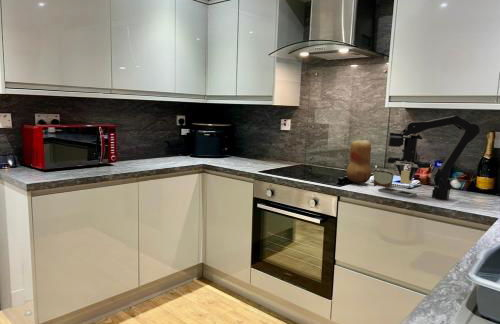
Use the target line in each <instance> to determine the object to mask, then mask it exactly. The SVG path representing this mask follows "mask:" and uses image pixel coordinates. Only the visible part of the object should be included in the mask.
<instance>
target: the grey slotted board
mask: <svg viewBox="0 0 500 324" xmlns="http://www.w3.org/2000/svg"><path fill="white" fill-rule="evenodd" d="M377 192H379V193H384V194H388V195H389V194H390V195H393V196H398V197H403V198H408V199H410V198H411V199H412V198H414V197H418V193H416V192H412V191H406V190H400V189H397V188H392V187H391V188H388V187H382V188H378V190H377Z"/></svg>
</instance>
